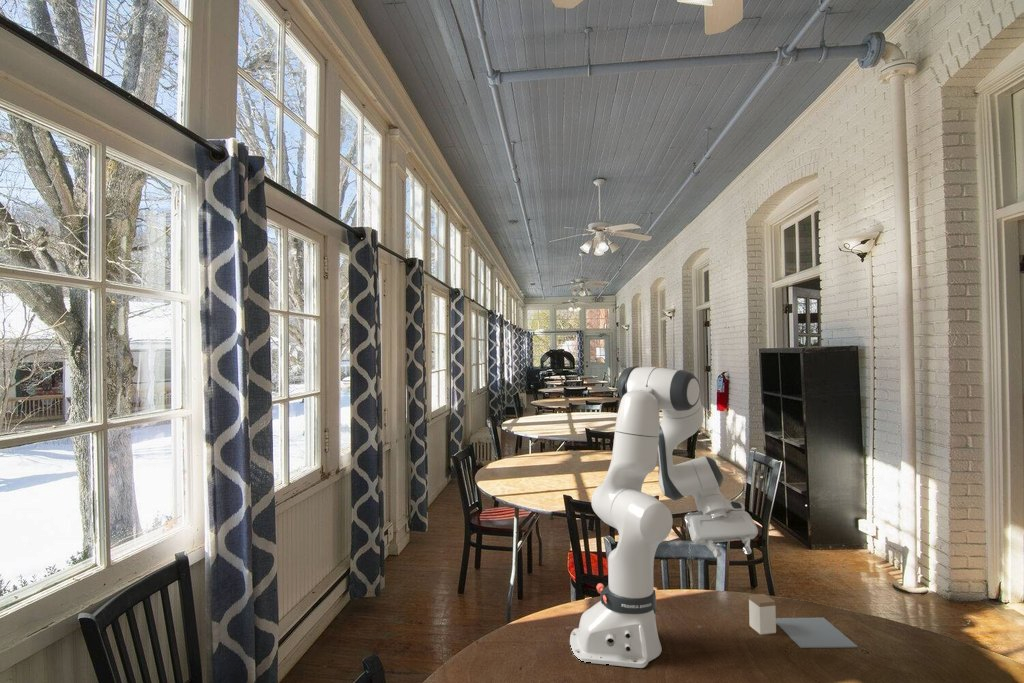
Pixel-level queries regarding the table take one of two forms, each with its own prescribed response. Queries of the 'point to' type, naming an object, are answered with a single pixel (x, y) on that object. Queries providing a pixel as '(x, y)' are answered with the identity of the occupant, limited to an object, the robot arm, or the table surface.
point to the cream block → (762, 614)
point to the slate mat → (814, 633)
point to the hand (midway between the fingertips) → (733, 554)
